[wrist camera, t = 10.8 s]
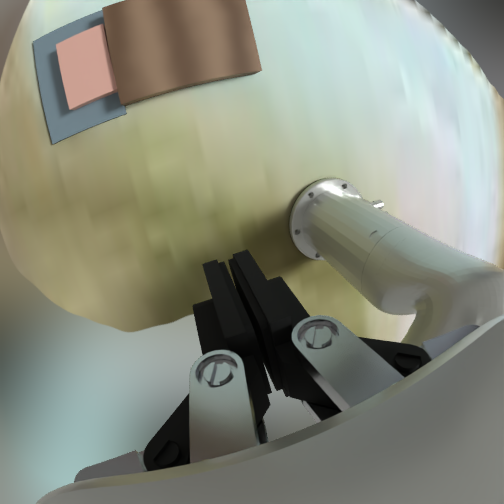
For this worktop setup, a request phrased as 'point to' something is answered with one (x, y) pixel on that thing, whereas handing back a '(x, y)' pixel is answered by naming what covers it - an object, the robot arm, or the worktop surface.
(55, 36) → the mat
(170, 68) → the platform
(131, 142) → the worktop surface
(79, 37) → the tile
